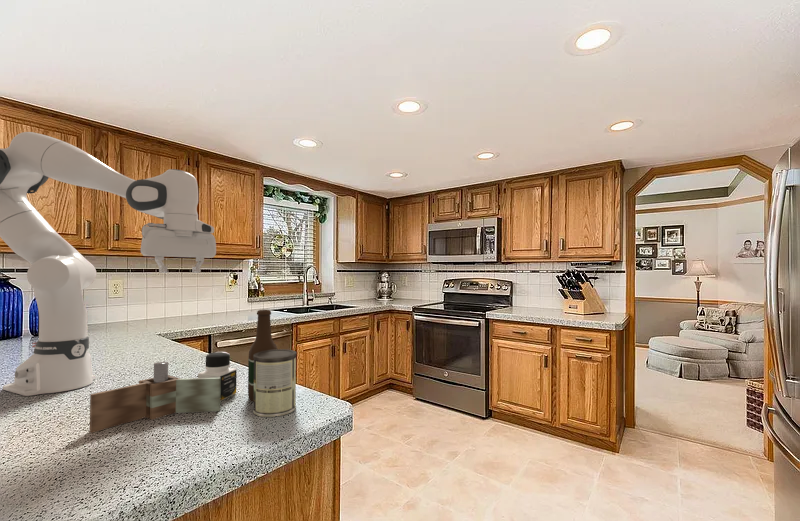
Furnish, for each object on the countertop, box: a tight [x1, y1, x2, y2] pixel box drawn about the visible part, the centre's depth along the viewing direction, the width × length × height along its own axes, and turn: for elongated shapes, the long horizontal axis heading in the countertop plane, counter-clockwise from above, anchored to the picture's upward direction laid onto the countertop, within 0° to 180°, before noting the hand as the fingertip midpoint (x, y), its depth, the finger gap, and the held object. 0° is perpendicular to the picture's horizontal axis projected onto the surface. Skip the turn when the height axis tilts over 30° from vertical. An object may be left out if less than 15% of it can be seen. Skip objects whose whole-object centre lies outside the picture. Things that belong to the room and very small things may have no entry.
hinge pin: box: [153, 361, 169, 384], centre depth 96 cm, size 3×3×12 cm
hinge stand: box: [89, 374, 221, 434], centre depth 92 cm, size 23×14×8 cm, turn 147°
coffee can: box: [252, 348, 297, 418], centre depth 98 cm, size 10×10×14 cm
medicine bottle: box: [197, 351, 237, 402], centre depth 108 cm, size 7×7×12 cm
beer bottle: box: [247, 309, 278, 403], centre depth 107 cm, size 8×8×24 cm
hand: (180, 272), depth 115 cm, fingers open, 8 cm apart
